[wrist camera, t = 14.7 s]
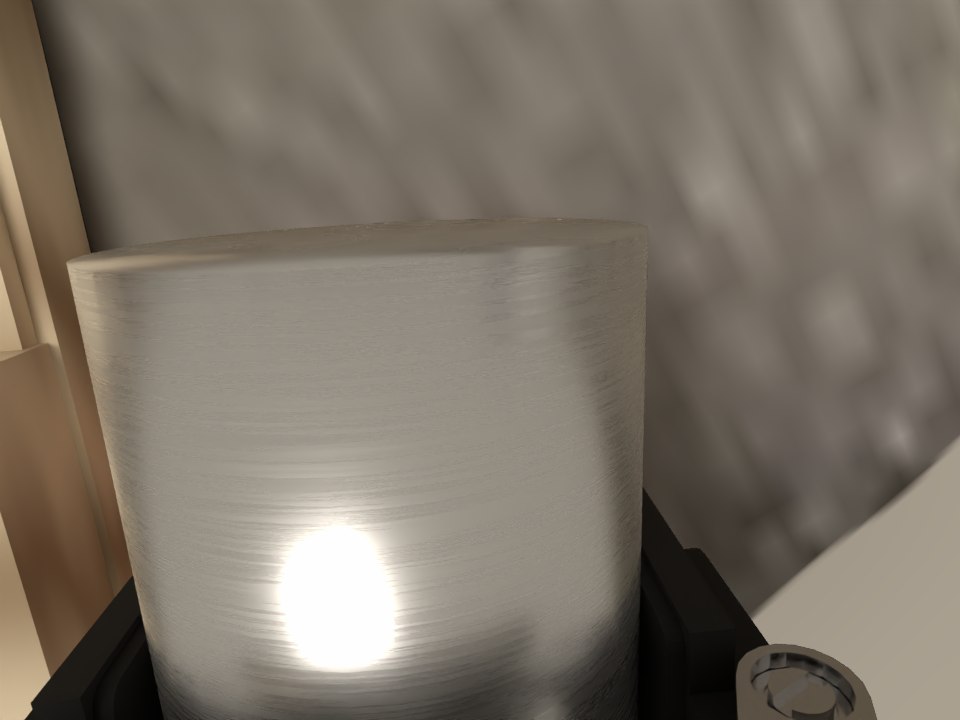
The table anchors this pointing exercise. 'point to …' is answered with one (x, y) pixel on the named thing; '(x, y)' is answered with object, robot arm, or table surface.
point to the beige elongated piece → (45, 393)
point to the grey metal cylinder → (380, 465)
